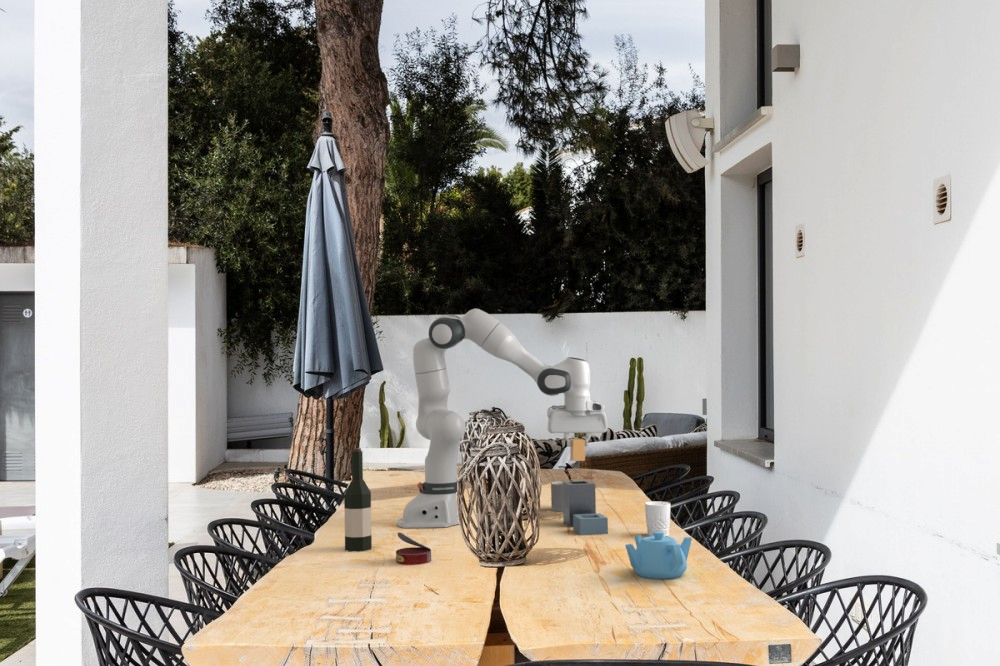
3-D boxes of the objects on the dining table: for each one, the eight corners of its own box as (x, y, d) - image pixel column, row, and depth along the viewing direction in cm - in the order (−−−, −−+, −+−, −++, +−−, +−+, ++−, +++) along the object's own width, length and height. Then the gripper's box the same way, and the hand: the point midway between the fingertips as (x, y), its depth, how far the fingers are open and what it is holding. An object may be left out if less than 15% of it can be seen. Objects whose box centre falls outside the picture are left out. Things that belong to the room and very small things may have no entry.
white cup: (673, 533, 292) (673, 502, 293) (667, 538, 285) (666, 505, 285) (649, 532, 296) (648, 500, 296) (642, 536, 288) (641, 504, 289)
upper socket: (569, 527, 307) (568, 484, 307) (563, 522, 315) (562, 481, 316) (596, 526, 308) (595, 483, 309) (589, 521, 317) (588, 480, 317)
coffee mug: (552, 512, 337) (552, 484, 337) (550, 508, 347) (550, 481, 347) (589, 511, 337) (588, 484, 338) (586, 507, 347) (585, 480, 347)
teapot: (622, 578, 235) (621, 536, 235) (635, 565, 249) (634, 525, 249) (683, 583, 229) (682, 539, 229) (693, 569, 243) (692, 528, 244)
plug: (573, 460, 310) (573, 440, 310) (570, 459, 314) (570, 439, 314) (584, 460, 311) (584, 439, 311) (581, 459, 315) (581, 438, 315)
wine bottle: (349, 552, 272) (348, 450, 273) (340, 547, 280) (339, 448, 280) (376, 549, 276) (374, 448, 277) (367, 544, 283) (365, 446, 284)
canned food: (399, 575, 262) (398, 541, 267) (434, 571, 262) (432, 537, 267) (392, 565, 252) (390, 529, 257) (428, 560, 252) (426, 525, 257)
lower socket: (580, 535, 293) (580, 519, 293) (573, 530, 302) (573, 514, 302) (607, 533, 294) (607, 517, 294) (600, 528, 303) (599, 513, 303)
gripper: (549, 405, 308) (549, 447, 308) (608, 405, 312) (609, 446, 311) (545, 405, 314) (545, 446, 314) (603, 404, 318) (603, 445, 317)
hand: (577, 446), depth 313 cm, fingers closed on plug, 4 cm apart
